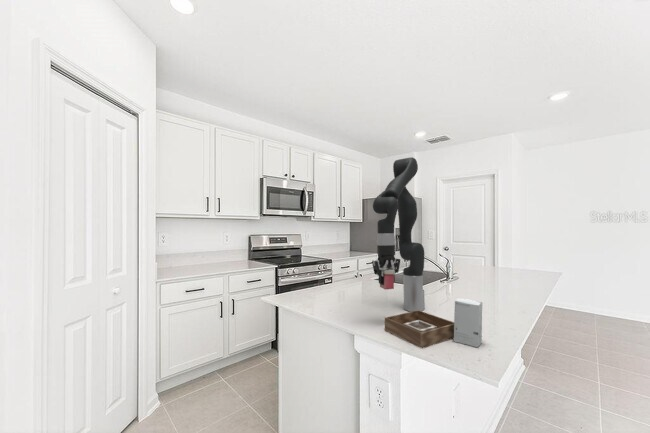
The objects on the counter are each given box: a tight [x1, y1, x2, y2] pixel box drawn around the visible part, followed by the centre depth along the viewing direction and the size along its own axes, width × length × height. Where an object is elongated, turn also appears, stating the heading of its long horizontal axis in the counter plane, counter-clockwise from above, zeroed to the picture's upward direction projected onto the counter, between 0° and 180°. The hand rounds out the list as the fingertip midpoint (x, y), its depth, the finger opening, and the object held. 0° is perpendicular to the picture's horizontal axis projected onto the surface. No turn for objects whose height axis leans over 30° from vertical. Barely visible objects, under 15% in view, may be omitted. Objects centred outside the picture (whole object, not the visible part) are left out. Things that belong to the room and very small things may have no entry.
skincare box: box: [453, 297, 483, 348], centre depth 101 cm, size 8×6×15 cm
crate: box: [384, 310, 454, 349], centre depth 110 cm, size 19×19×5 cm
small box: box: [379, 268, 395, 290], centre depth 120 cm, size 5×4×8 cm
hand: (386, 283), depth 120 cm, fingers closed on small box, 5 cm apart
